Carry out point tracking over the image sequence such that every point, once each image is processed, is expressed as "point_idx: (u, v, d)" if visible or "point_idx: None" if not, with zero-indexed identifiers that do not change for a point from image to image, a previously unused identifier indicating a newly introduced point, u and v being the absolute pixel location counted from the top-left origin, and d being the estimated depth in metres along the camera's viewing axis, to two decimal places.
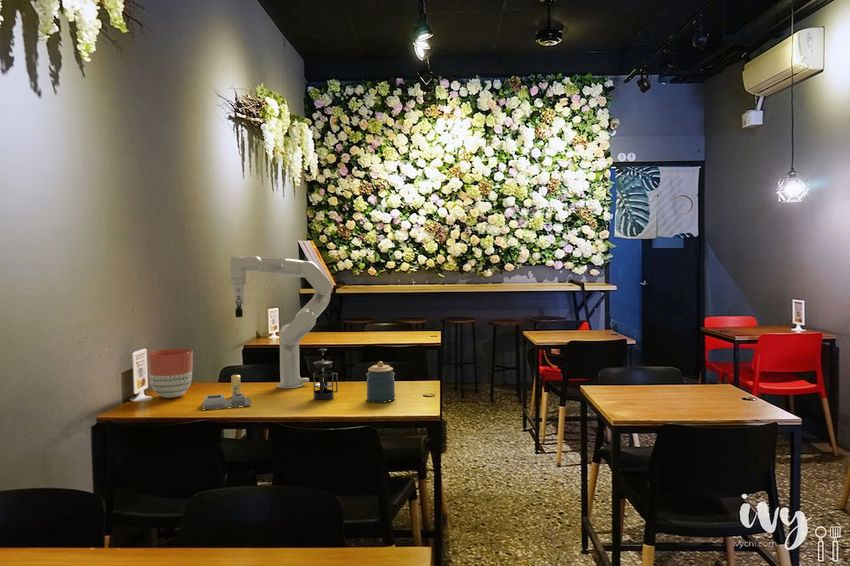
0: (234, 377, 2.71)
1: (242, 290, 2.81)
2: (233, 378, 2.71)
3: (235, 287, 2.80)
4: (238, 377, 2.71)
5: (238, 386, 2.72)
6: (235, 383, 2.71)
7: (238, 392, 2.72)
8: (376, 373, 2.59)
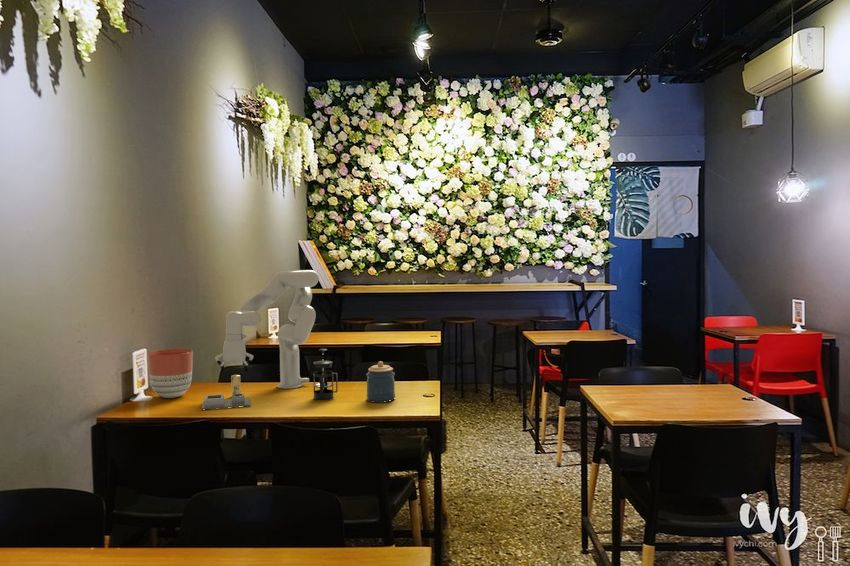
0: (234, 377, 2.71)
1: None
2: (233, 378, 2.71)
3: (244, 343, 2.72)
4: (238, 377, 2.71)
5: (238, 386, 2.72)
6: (235, 383, 2.71)
7: (238, 392, 2.72)
8: (376, 373, 2.59)
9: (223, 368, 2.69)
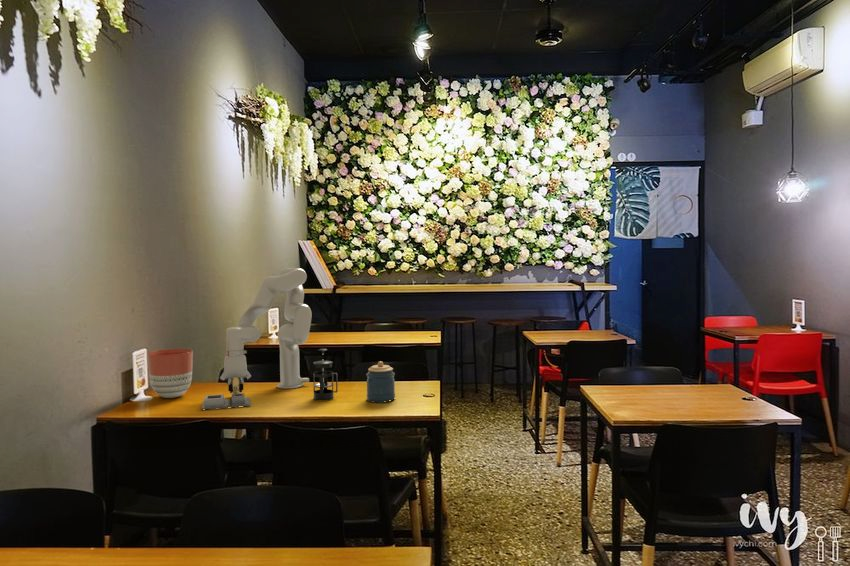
0: None
1: None
2: (233, 378, 2.71)
3: (245, 359, 2.72)
4: None
5: (238, 386, 2.72)
6: (235, 383, 2.71)
7: (238, 392, 2.72)
8: (376, 373, 2.59)
9: (230, 386, 2.71)
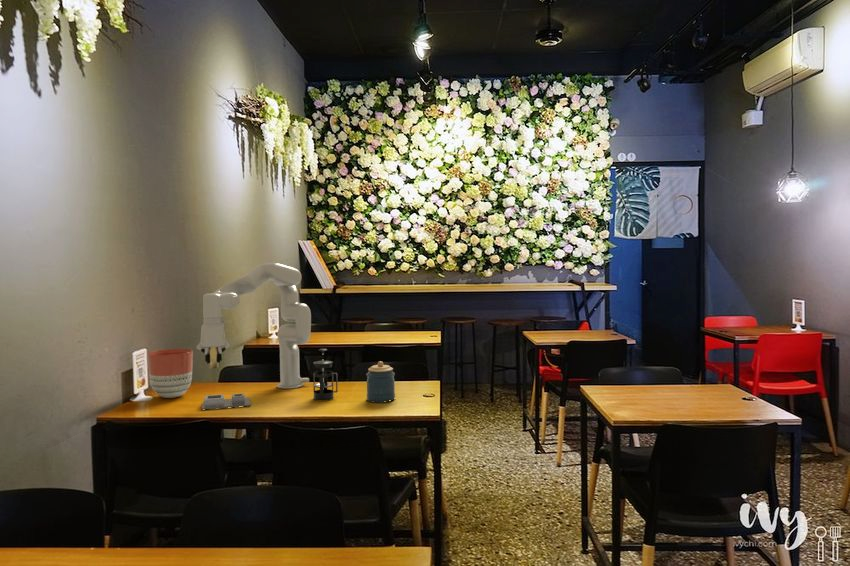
0: None
1: None
2: (210, 347, 2.53)
3: (223, 327, 2.55)
4: None
5: (216, 356, 2.54)
6: (212, 353, 2.53)
7: (216, 362, 2.54)
8: (376, 373, 2.59)
9: (207, 356, 2.53)
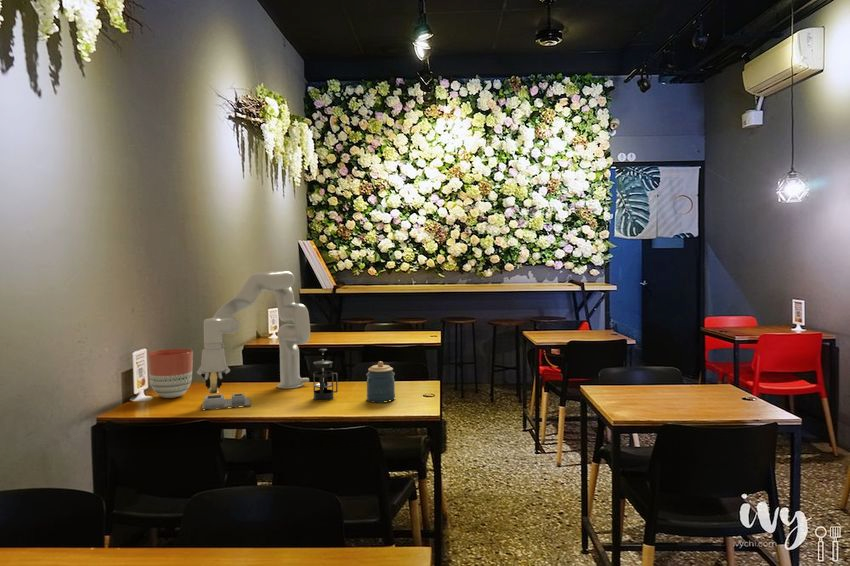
0: None
1: None
2: None
3: (223, 352, 2.55)
4: None
5: (216, 381, 2.54)
6: (213, 378, 2.53)
7: (216, 387, 2.54)
8: (376, 373, 2.59)
9: (208, 381, 2.53)
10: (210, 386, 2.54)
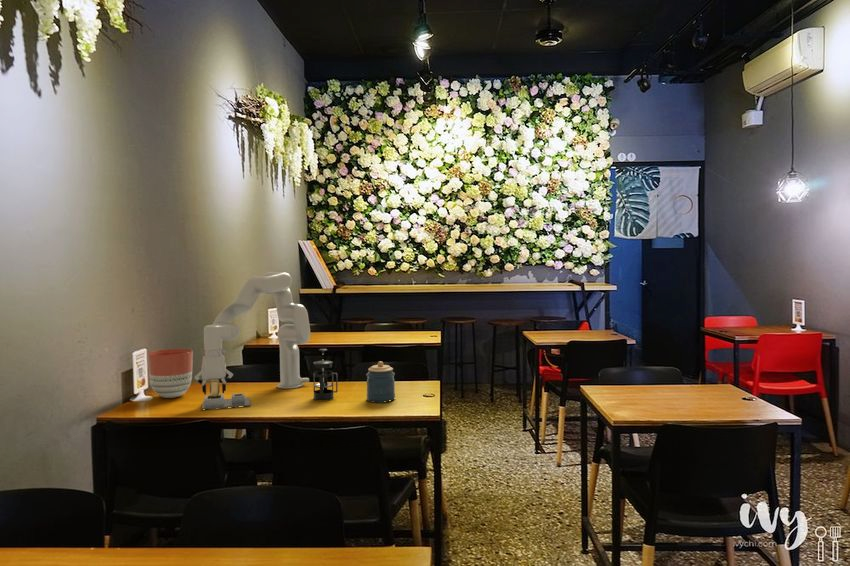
0: (213, 383, 2.53)
1: None
2: (212, 384, 2.53)
3: (223, 359, 2.55)
4: (217, 383, 2.54)
5: (217, 392, 2.54)
6: (214, 390, 2.53)
7: None
8: (376, 373, 2.59)
9: (205, 387, 2.53)
10: (211, 397, 2.54)
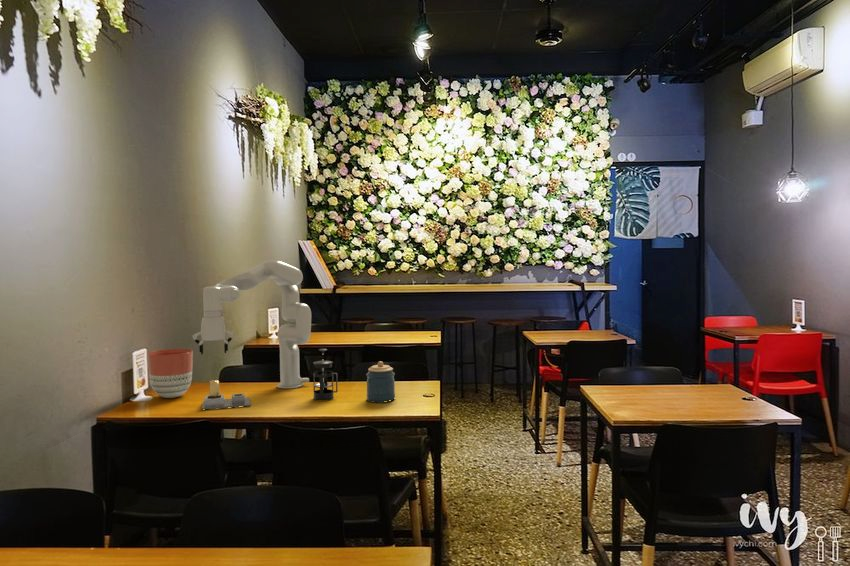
0: (212, 382, 2.54)
1: None
2: (211, 384, 2.54)
3: (223, 320, 2.55)
4: (217, 382, 2.55)
5: (217, 392, 2.55)
6: (213, 389, 2.54)
7: None
8: (376, 373, 2.59)
9: (202, 347, 2.52)
10: (211, 397, 2.54)
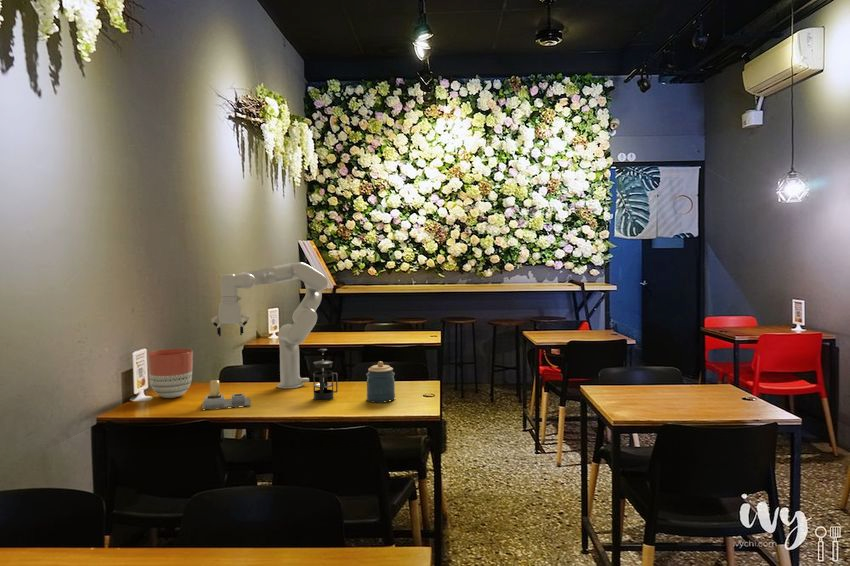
0: (213, 382, 2.54)
1: None
2: (212, 383, 2.54)
3: (239, 305, 2.76)
4: (217, 382, 2.55)
5: (217, 392, 2.55)
6: (214, 389, 2.54)
7: None
8: (376, 373, 2.59)
9: (219, 329, 2.74)
10: (211, 397, 2.54)
